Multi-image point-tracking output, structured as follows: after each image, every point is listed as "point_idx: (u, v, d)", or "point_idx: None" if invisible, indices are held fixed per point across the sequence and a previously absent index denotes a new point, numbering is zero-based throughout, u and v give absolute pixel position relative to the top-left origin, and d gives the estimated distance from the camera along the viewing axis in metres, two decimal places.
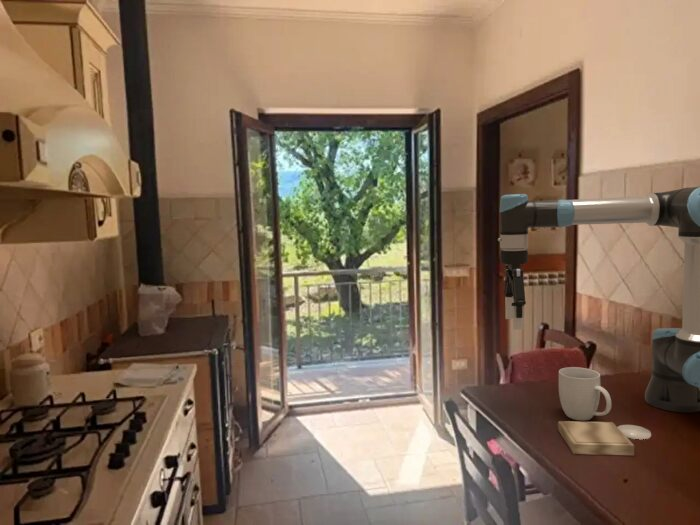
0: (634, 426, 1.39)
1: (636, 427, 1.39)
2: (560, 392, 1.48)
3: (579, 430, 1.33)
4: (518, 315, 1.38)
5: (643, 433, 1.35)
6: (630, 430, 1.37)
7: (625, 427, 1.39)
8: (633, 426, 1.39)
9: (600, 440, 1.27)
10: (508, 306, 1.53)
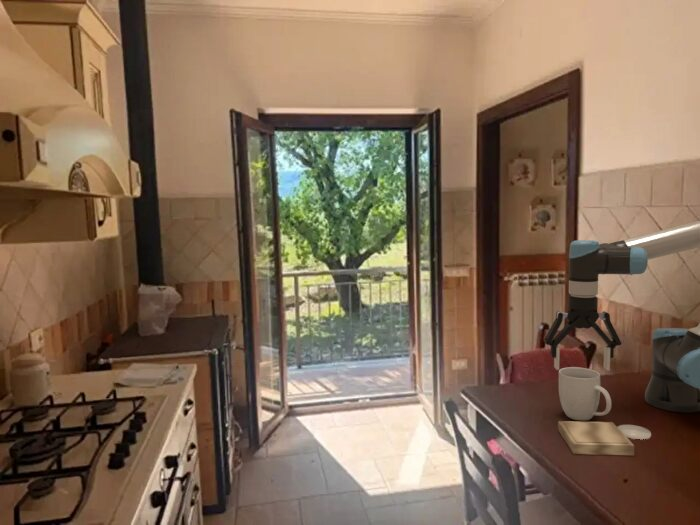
0: (634, 426, 1.39)
1: (636, 427, 1.39)
2: (560, 392, 1.48)
3: (579, 430, 1.33)
4: (551, 354, 1.48)
5: (643, 433, 1.35)
6: (630, 430, 1.37)
7: (625, 427, 1.39)
8: (633, 426, 1.39)
9: (600, 440, 1.27)
10: (604, 355, 1.46)
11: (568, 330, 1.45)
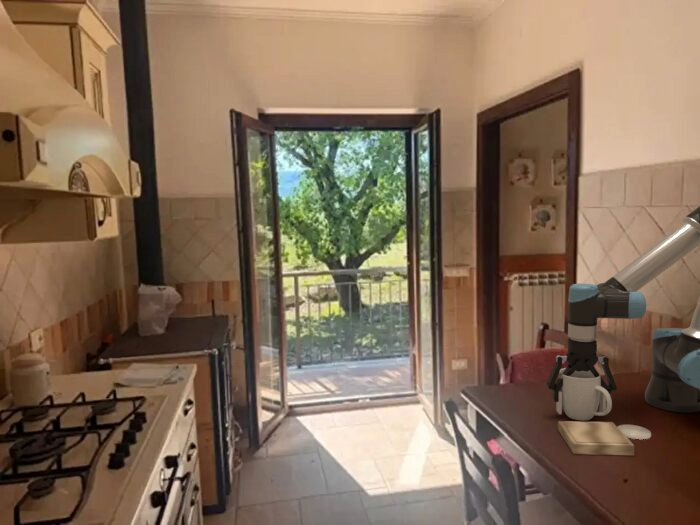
0: (634, 426, 1.39)
1: (636, 427, 1.39)
2: None
3: (579, 430, 1.33)
4: (553, 398, 1.49)
5: (644, 433, 1.35)
6: (630, 430, 1.37)
7: (625, 427, 1.39)
8: (633, 426, 1.39)
9: (600, 440, 1.27)
10: (600, 399, 1.47)
11: (569, 374, 1.46)
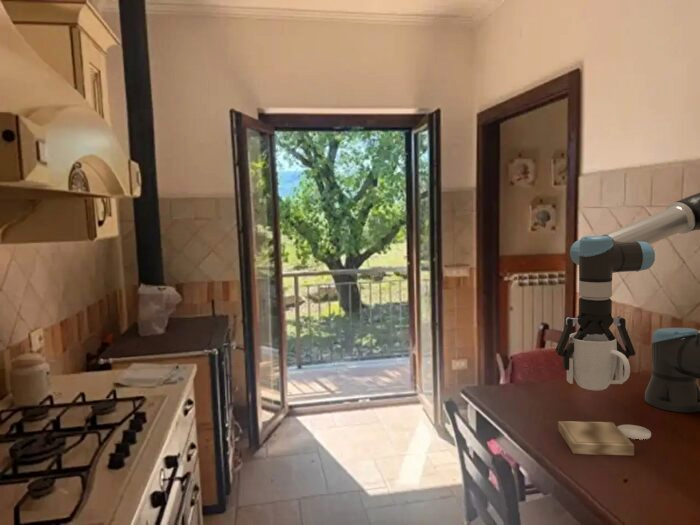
0: (633, 426, 1.39)
1: (635, 427, 1.39)
2: None
3: (579, 430, 1.33)
4: (563, 366, 1.32)
5: (644, 433, 1.35)
6: (630, 430, 1.37)
7: (625, 427, 1.39)
8: (632, 426, 1.39)
9: (600, 440, 1.27)
10: (616, 367, 1.30)
11: (580, 338, 1.29)
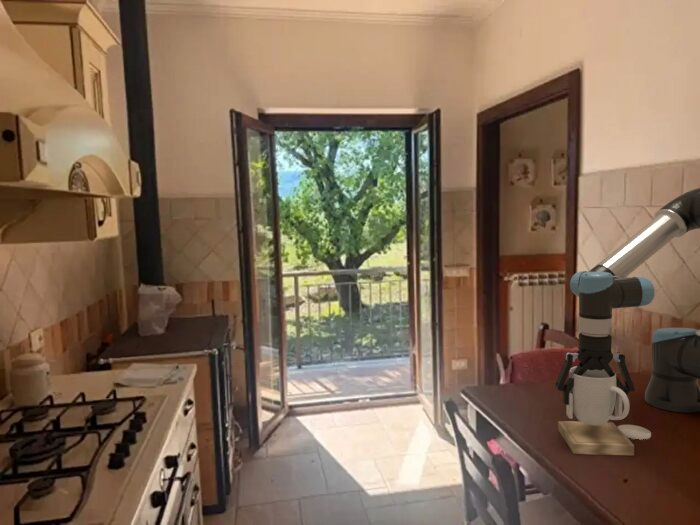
0: (633, 426, 1.39)
1: (635, 427, 1.39)
2: None
3: (579, 430, 1.33)
4: (563, 400, 1.33)
5: (644, 433, 1.35)
6: (630, 430, 1.37)
7: (625, 427, 1.39)
8: (632, 426, 1.39)
9: (600, 440, 1.27)
10: (616, 402, 1.31)
11: (580, 373, 1.30)
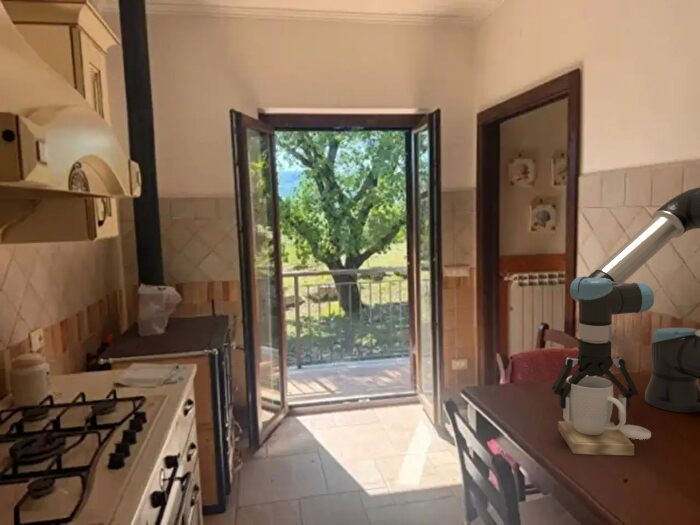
0: (633, 426, 1.39)
1: (635, 427, 1.39)
2: None
3: None
4: (560, 404, 1.33)
5: (644, 433, 1.35)
6: (630, 430, 1.37)
7: (624, 427, 1.39)
8: (632, 426, 1.39)
9: (600, 440, 1.27)
10: None
11: (579, 378, 1.30)
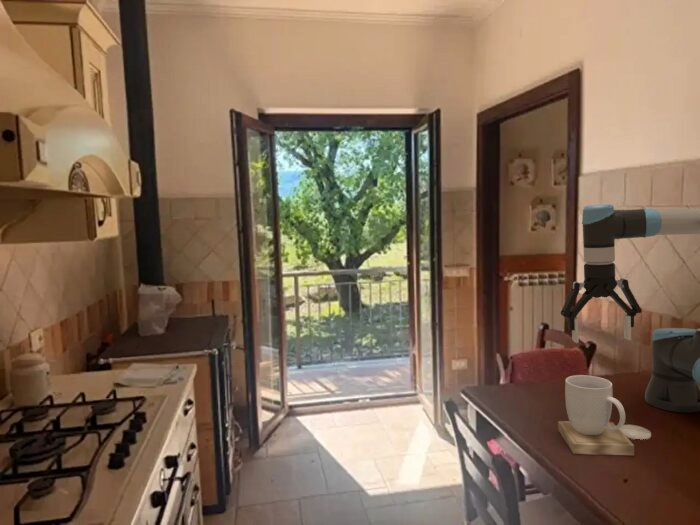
0: (632, 426, 1.40)
1: (634, 427, 1.39)
2: (567, 403, 1.32)
3: None
4: (569, 327, 1.40)
5: (644, 433, 1.35)
6: (630, 430, 1.37)
7: (624, 427, 1.39)
8: (631, 426, 1.39)
9: (600, 440, 1.27)
10: (624, 324, 1.39)
11: (586, 300, 1.37)
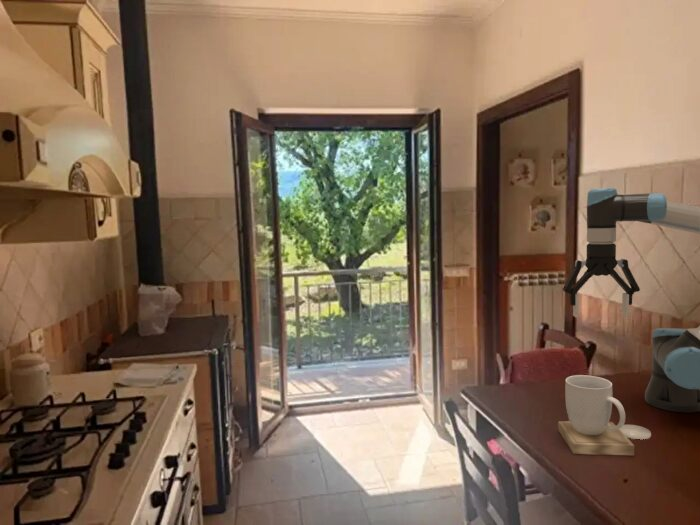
0: (632, 426, 1.40)
1: (634, 426, 1.39)
2: (567, 403, 1.32)
3: None
4: (570, 302, 1.49)
5: (644, 433, 1.35)
6: (630, 430, 1.37)
7: (624, 427, 1.39)
8: (631, 426, 1.40)
9: (600, 440, 1.27)
10: (623, 302, 1.48)
11: (587, 277, 1.47)
